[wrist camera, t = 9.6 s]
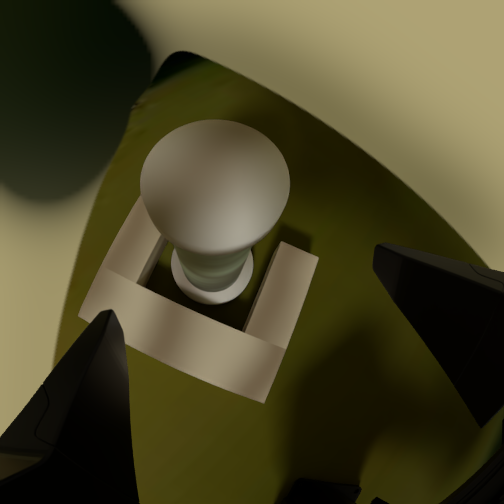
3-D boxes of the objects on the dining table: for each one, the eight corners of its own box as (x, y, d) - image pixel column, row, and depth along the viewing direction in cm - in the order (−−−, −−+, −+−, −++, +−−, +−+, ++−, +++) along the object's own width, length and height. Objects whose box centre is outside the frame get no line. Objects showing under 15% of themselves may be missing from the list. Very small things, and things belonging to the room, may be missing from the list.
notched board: (307, 266, 24) (318, 257, 21) (257, 396, 20) (264, 403, 18) (152, 199, 23) (147, 184, 21) (90, 319, 20) (77, 315, 17)
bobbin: (262, 247, 23) (316, 147, 11) (233, 318, 21) (263, 285, 9) (193, 218, 23) (182, 99, 11) (160, 285, 21) (102, 214, 9)
